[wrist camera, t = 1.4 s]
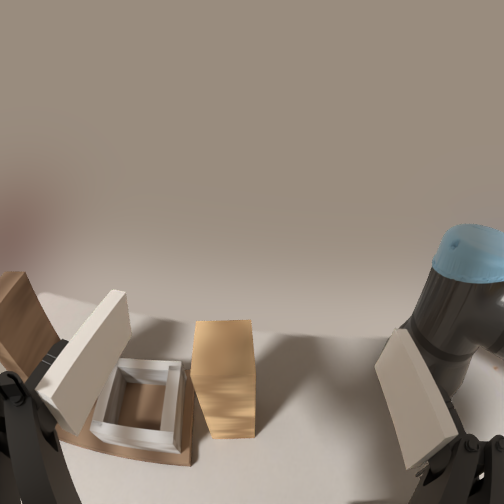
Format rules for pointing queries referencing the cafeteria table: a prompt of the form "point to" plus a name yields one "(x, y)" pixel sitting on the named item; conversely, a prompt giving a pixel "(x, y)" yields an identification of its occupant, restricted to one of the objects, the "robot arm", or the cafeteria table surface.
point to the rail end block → (225, 377)
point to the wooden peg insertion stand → (105, 387)
